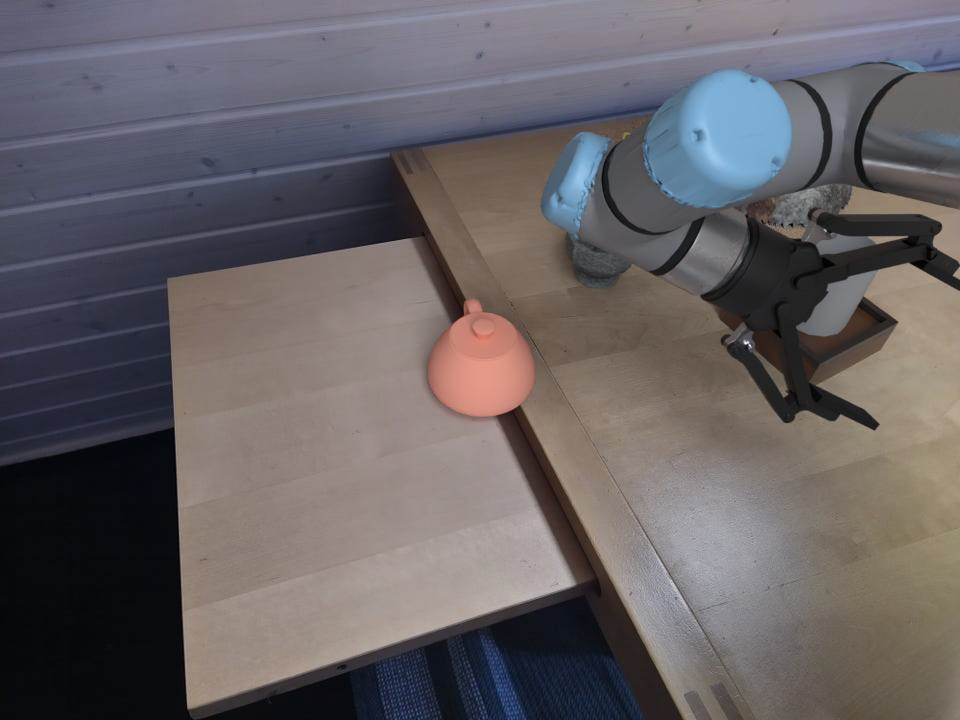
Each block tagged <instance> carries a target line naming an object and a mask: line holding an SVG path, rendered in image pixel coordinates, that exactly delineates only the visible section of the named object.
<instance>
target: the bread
mask: <svg viewBox="0 0 960 720" xmlns="http://www.w3.org/2000/svg"><path fill="white" fill-rule="evenodd" d="M852 194H853V186H850V185H846V184H828V185H824V186H820V187H815V188H811V189H807V190H803V191H799V192H794V193H790V194H785V195H781V196H777V197H773V198H769V199H766V200H762V201H758V202H754V203H750V204H746V205H742V206H738V207H734V208H735V209H736V210H738V211H740V212H742V213H743V214H744V215H745V217H746V216H747V218H749V217H750V218H753V219H755V220H757V221H759V222H762V223H763V224H765V225H766V224H767V223H768V225H770V226H773V225H774V224H775V227H781V225H782V227H783V228H784V229H785V228H787V226H789V225H790V224H792V225H793V226H792V227H793V229H796V227H798V225H799V224H800V225H801V224H803V226H804V227H807V226H808V225H809V223H810V220H809V219H808V217H807V214H808V212H809V210H810V209H812V208H814V207H819V208H821V209H824V210H827V211H829V212H832V213H834V214H840V211H841V209H842V208H843V210H845V209H846V207H847V206H846V205H847V204H849V201H850V199H851V196H852Z"/></svg>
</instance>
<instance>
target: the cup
mask: <svg viewBox="0 0 960 720" xmlns="http://www.w3.org/2000/svg"><path fill="white" fill-rule="evenodd" d="M876 244H878V243H877V242H876V241H875V240H873V239H872V238H870V236H864V237H852V236H844V235H840V234H837V237H836V238H834V239H831V240H821V241H819V242H818V243H817V245H816V246H817V248H818V250H819V253H820V255H823V254H837V253H841V252H846V251H850V250H854V249H859V248H863V247H867V246H871V245H876ZM878 272H879V270H875V271H871V272H867V273H862V274H858V275H854V276H850V277H848V279H846V280H844V281H839V282H835V283H831V284H828V288H827V291H828V294H827V295H826V297H825V298H824V299H823V300H822V301H821V302H820V303H819V304H818V305H817V306H815V308H814V311H813V313H812V315H811V317H810V318H809V319H808V321H807V322H806V323H804V322H802V323H801V324H800V325H798V326H796V328H797V330H799V331H801V332H804V333H806V334H809V335H816V336H824V337H825V336H829V335H834V334H838V333H839V332H840V331H841V330H842V329H843V328H844V327H846V325H847V323H848V321H849V320H850V318H851V316H852V315H853V313H854V311H855V310H856V308H857V306H858V304H859V303H860V301H861V299H862V298H863V296H864V297H865V294H866V292H867V291H868V289H869V287H870V285H871V284H872V283H873V281H874V279H875V277H876V275H877V274H878Z"/></svg>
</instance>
